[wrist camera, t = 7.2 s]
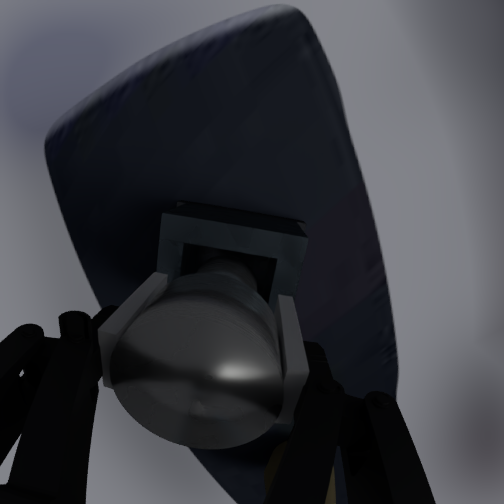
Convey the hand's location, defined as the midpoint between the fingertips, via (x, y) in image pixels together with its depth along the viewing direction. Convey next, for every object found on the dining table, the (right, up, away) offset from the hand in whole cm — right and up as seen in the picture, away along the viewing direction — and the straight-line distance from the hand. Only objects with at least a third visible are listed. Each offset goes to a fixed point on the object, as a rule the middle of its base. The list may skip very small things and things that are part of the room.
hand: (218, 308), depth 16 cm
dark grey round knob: (0, +1, +3) cm, 3 cm away
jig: (0, -1, +10) cm, 10 cm away
